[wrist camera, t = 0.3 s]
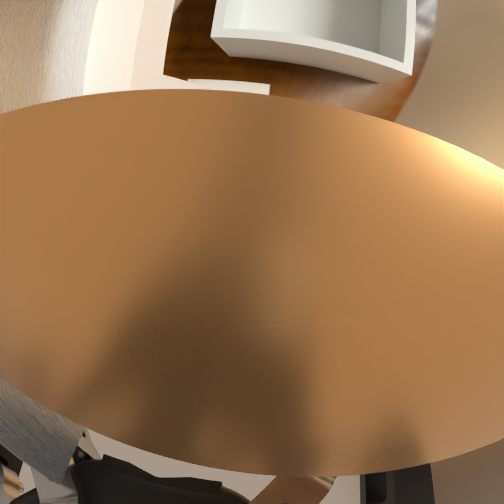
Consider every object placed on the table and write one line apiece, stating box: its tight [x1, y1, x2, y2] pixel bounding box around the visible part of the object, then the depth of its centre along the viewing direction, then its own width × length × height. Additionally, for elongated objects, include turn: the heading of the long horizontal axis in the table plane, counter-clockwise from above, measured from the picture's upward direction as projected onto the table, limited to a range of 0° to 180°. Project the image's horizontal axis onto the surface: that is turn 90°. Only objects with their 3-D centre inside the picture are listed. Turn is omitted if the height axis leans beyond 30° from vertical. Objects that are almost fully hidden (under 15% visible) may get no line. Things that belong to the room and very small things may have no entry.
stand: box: [83, 0, 270, 96], centre depth 18 cm, size 12×10×32 cm
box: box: [211, 0, 416, 83], centre depth 20 cm, size 15×19×10 cm
